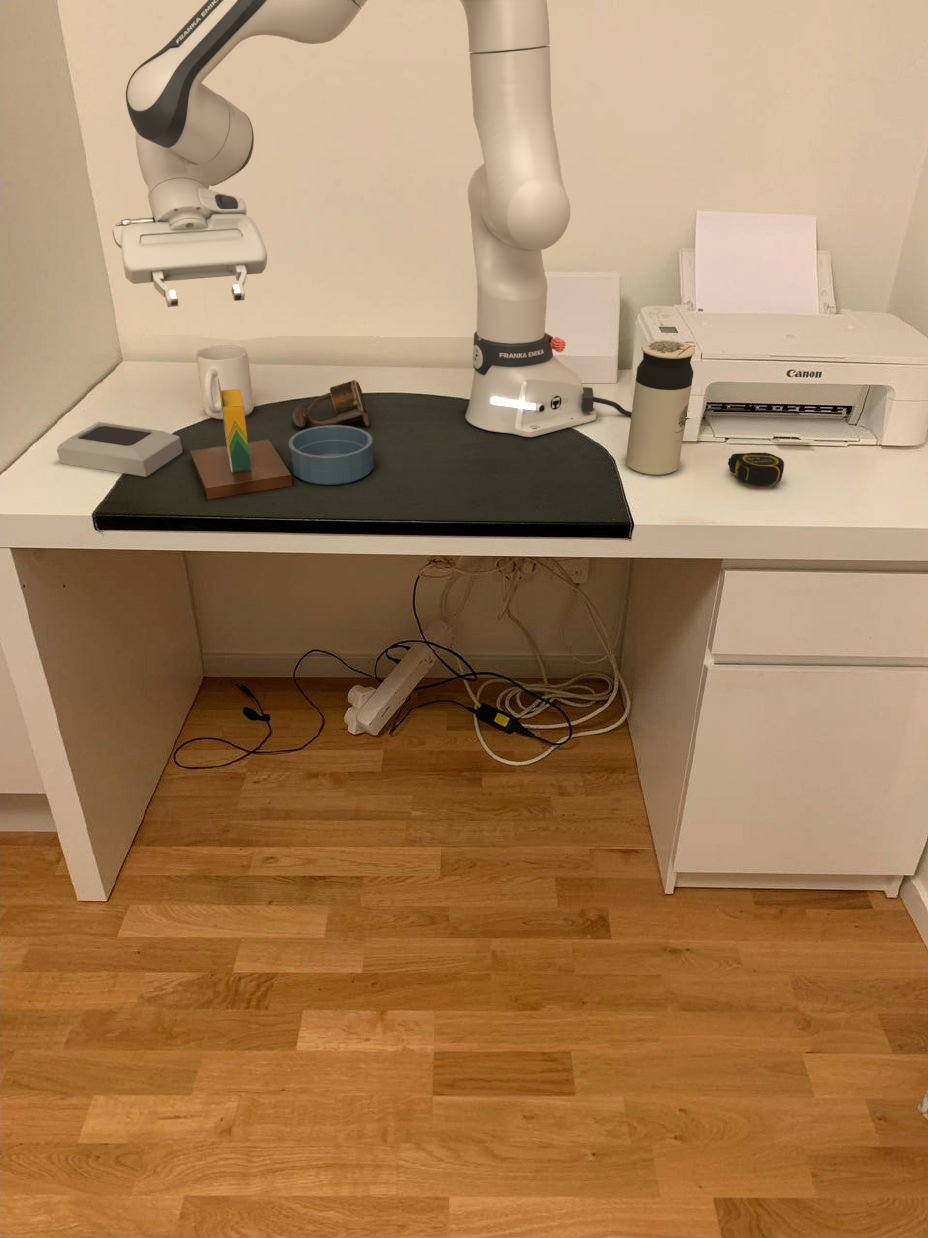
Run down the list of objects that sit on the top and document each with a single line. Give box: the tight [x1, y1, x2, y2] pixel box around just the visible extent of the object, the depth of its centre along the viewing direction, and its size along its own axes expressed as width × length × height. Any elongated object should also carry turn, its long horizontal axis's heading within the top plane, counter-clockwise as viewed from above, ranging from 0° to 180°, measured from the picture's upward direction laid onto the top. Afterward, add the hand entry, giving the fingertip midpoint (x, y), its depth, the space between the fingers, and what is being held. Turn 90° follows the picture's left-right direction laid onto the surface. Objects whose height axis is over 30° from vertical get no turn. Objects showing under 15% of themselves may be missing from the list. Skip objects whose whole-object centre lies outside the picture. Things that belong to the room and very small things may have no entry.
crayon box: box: [218, 379, 251, 473], centre depth 125 cm, size 7×3×12 cm, turn 17°
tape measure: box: [727, 452, 785, 487], centre depth 128 cm, size 7×7×4 cm
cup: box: [195, 344, 255, 420], centre depth 146 cm, size 8×12×10 cm
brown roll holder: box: [291, 379, 370, 429], centre depth 144 cm, size 7×13×10 cm
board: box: [189, 439, 293, 500], centre depth 129 cm, size 12×14×2 cm
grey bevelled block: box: [56, 421, 184, 477], centre depth 132 cm, size 10×4×15 cm
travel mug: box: [625, 339, 696, 476], centre depth 128 cm, size 8×8×18 cm
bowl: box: [288, 424, 375, 486], centre depth 130 cm, size 12×12×4 cm
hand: (206, 301), depth 125 cm, fingers open, 8 cm apart
